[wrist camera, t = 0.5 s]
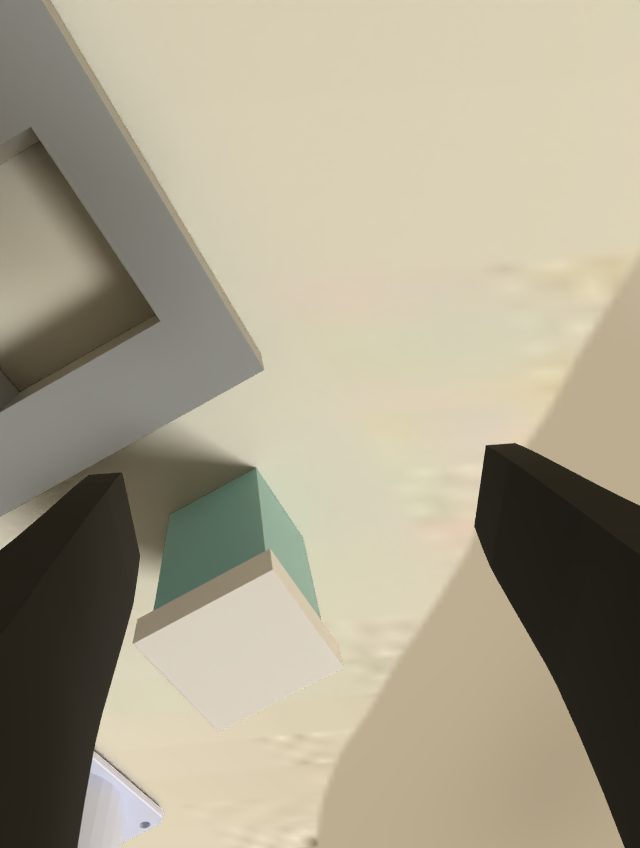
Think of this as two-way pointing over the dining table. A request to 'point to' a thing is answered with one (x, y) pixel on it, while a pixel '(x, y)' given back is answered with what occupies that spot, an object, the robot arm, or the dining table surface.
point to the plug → (236, 606)
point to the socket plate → (138, 252)
